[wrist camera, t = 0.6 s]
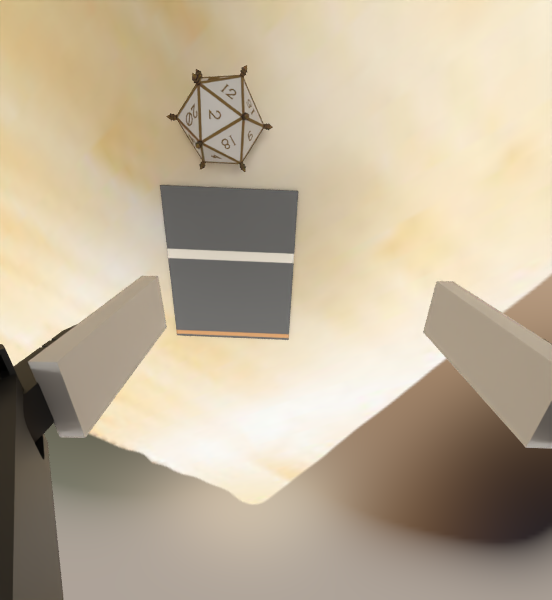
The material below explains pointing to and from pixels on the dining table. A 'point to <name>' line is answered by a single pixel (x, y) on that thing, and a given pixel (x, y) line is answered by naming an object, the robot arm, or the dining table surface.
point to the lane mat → (230, 260)
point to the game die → (221, 118)
